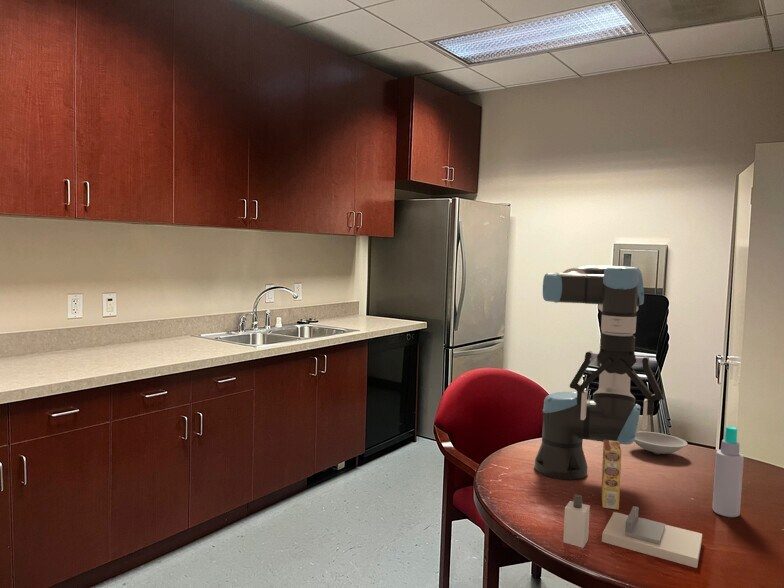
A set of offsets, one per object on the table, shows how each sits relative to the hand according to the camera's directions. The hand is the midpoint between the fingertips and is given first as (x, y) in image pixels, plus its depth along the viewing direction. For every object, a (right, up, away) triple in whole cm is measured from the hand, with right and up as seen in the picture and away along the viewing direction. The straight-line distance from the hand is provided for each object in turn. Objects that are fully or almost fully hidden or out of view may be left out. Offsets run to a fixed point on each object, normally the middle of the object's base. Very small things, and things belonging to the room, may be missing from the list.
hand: (613, 423), depth 134 cm
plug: (-11, -25, -5) cm, 28 cm away
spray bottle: (+33, -25, +11) cm, 43 cm away
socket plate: (+7, -26, -5) cm, 27 cm away
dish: (+35, -22, +54) cm, 69 cm away
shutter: (+6, -23, -4) cm, 24 cm away
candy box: (+5, -24, +15) cm, 29 cm away
